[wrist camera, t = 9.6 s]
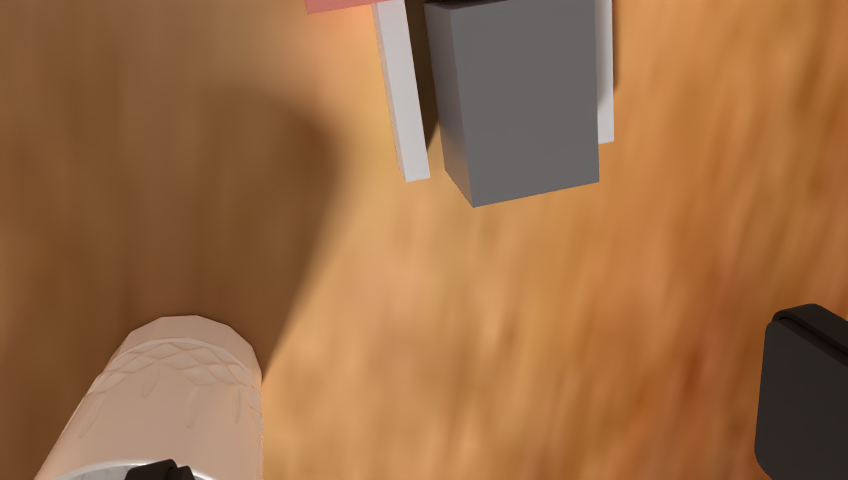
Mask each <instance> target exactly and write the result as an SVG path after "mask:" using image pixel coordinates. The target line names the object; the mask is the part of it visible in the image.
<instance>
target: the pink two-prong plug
mask: <svg viewBox="0 0 848 480" xmlns="http://www.w3.org/2000/svg"><path fill="white" fill-rule="evenodd" d="M305 2H306V7H307V12H308V14H312V13H318V12H324V11H330V10H336V9H342V8H348V7H354V6H360V5H366V4H372V9H373V15H374V21H375V27H376V33H377V39H378V45H379V51H380V57H381V63H382V69H383V74H384V80H385V86H386V92H387V98H388V104H389V110H390V116H391V122H392V128H393V134H394V140H395V146H396V152H397V158H398V164H399V169H400V171H401V173H402V175H403V177H404V179H405V180H406V182H410V181H415V180H420V179H425V178H430V172H429V166H428V159H427V152H426V145H425V139H424V132H423V125H422V118H421V111H420V105H419V98H418V91H417V84H416V77H415V71H414V64H413V57H412V50H411V44H410V37H409V30H408V23H407V16H406V10H405V3H404V0H305ZM595 36H596V76H597V116H598V144H601V143H607V142H612V141H614V113H613V50H612V0H595Z"/></svg>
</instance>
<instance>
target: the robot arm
mask: <svg viewBox="0 0 848 480" xmlns="http://www.w3.org/2000/svg"><path fill="white" fill-rule="evenodd" d="M754 448H755V455H756V458H757V461H758V463H759V465H760V466H761V468H762V469H763V470H764V472H765V473H766V474H767V475H768V476H769V477H770V478H771V479H772V480H848V321H846V320H844V319H843V318H841V317H839V316H837V315H836V314H834V313H832V312H830V311H829V310H827V309H825V308H823V307H822V306H819V305H817V304H805V305H801V306H797V307H793V308H789V309H785V310H781V311H779V312H777V313H775V315H774V316H773V318H772V322H771V323H769V324H768V325H767V327H766V331H765V342H764V352H763V363H762V373H761V384H760V394H759V405H758V415H757V426H756V436H755V447H754ZM124 480H195V478H194V476H193V473H192V471H191V469H190V467H189V466H187V465H186V466H182V467H177V464H176V463H175V461H174V460H173V459H167V460H163V461H159V462H155V463H150V464H146V465H142V466H138V467H134V468H131V469H130V470H128V472H127V474H126V476H125V479H124Z"/></svg>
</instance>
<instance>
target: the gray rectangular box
mask: <svg viewBox="0 0 848 480" xmlns="http://www.w3.org/2000/svg"><path fill="white" fill-rule="evenodd" d="M423 8H424V16H425V23H426V31H427V38H428V46H429V53H430V60H431V68H432V75H433V83H434V90H435V97H436V105H437V112H438V120H439V127H440V135H441V142H442V149H443V157H444V164H445V170H446V172H447V173H448V175H449V176H450V177H451V179H452V180H453V181H454V183H455V184H456V185H457V187H458V188H459V189H460V191H461V192H462V194H463V195H464V196H465V198H466V199H467V200H468V202H469V203H470V204H471V206H472V207H473V208H474V207H479V206H484V205H488V204H493V203H498V202H503V201H508V200H513V199H518V198H523V197H528V196H533V195H537V194H542V193H547V192H552V191H557V190H562V189H567V188H572V187H577V186H581V185H586V184H591V183H596V182H599V156H598V116H597V76H596V36H595V0H442V1H436V2H430V3H424V4H423Z"/></svg>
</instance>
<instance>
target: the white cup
mask: <svg viewBox="0 0 848 480" xmlns="http://www.w3.org/2000/svg"><path fill="white" fill-rule="evenodd" d="M261 380H262V373H261V369H260V367H259V364H258V361H257V359H256V356H255V353H254V351H253V348H252V346H251V345H250V344H249V343H248V342H247V341H245V340H244V339H243V338H242V337H241V336H240V335H239V334H238V333H236V332H235V331H234V330H233V329H232V328H231V327H230V326H228V325H225V324H222V323H219V322H216V321H213V320H210V319H207V318H204V317H201V316H198V315H190V316H172V317H160V318H158V319H156V320H154V321H152V322H150V323H148V324H146V325H144V326H142V327H140V328H138V329H136V330H133V331H131V332H130V333H129V335H128V336H127V337H126V338H125V340H124V341H123V342H122V344H121V345H120V346H119V348H118V349H117V350H116V351H115V353H114V354H113V355H112V357H111V358H110V360H109V362H108V363H107V365H106V367H105V369H104V370H103V372H102V373H101V374H99V375H98V376H97V378H96V379H95V381H94V382H93V384H92V385H91V387H90V389H89V390H88V392H87V394H86V395H85V396H84V397H83V399H82V401H81V402H80V404H79V405H78V407H77V408H76V410H75V411H74V413H73V415H72V416H71V418H70V420H69V421H68V423H67V424H66V426H65V428H64V430H63V431H62V433H61V435H60V436H59V438H58V440H57V441H56V443H55V445H54V446H53V448H52V450H51V451H50V453H49V455H48V456H47V458H46V460H45V461H44V463H43V465H42V466H41V468H40V470H39V471H38V473H37V475H36V476H35V478H34V480H124V479H125V476H126V474H127V472H128V470H130V469H131V468H134V467H138V466H142V465H146V464H150V463H155V462H159V461H163V460H167V459H173V460H174V461H175V463H176V464H177V467H182V466H186V465H187V466H189V467H190V469H191V471H192V473H193V476H194V478H195V480H263V455H264V444H263V413H262V404H261Z"/></svg>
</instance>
